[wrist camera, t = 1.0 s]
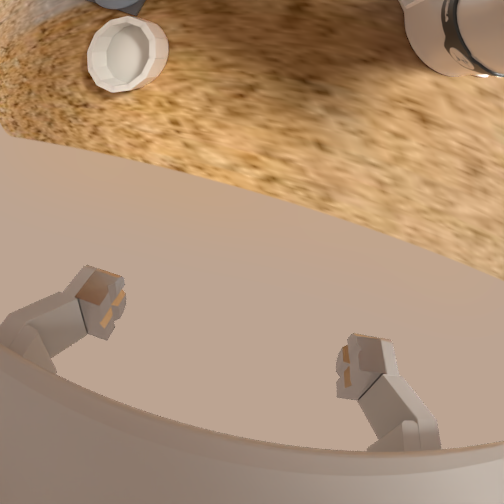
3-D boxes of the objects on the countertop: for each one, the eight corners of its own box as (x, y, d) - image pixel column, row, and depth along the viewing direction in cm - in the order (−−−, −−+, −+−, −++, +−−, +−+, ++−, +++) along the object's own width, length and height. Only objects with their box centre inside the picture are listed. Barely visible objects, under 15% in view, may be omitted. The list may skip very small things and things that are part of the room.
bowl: (123, 11, 35) (106, 8, 31) (182, 34, 37) (169, 32, 33) (94, 73, 42) (77, 76, 38) (148, 99, 44) (134, 103, 40)
